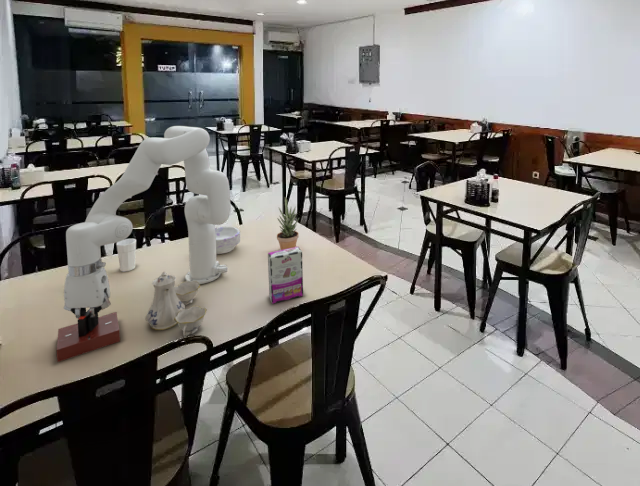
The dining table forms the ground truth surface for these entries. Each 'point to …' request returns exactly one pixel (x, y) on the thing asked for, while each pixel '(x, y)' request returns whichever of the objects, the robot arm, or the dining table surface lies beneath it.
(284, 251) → the candy bar box
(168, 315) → the chinaware
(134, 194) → the robot arm
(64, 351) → the rotary switch block
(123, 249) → the cup
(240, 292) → the dining table surface
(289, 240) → the potted plant
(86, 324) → the black rectangular block
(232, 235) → the paper bowls
